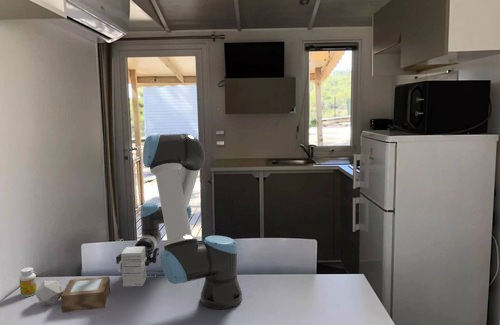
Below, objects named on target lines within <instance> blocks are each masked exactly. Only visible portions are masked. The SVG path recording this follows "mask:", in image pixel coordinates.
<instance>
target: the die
mask: <svg viewBox="0 0 500 325" xmlns="http://www.w3.org/2000/svg"><path fill="white" fill-rule="evenodd" d="M64 290H65V289H63V287H62V285H61V284H60V282H59V280H43V282H42V283H41V284H40V285H39V287H38V288H37V291H36V292H35V294H34V296H36V298H37V299H38V301H39V303H40V305H57V303H58V301H59V300H61V295H62V293H63V292H64Z"/></svg>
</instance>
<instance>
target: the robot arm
mask: <svg viewBox="0 0 500 325" xmlns="http://www.w3.org/2000/svg"><path fill="white" fill-rule="evenodd" d="M205 160H206V154H205V148H204V146H203V144H202V143H201V141H200V140H199V139H198V138H197V137H195V136H194V135H192V134H188V133H176V134H175V133H174V134H170V133H169V134H159V133H158V134H154V135H153V134H152V135H148V136H147V137H146V138H145V140H144V143H143V148H142V161H143V162H142V164H143V166H144V167H145V168H149V169H150V170H149V171H150V174H152V175H153V176H154V177H155V179H156V184H157V190H158V194H159V195H158V196H159V200H160V206H159V204H158V203H157V202H147V203H146V202H145V203H143V204H142V205H141V206H140V223H141V224H140V225H141V228H140V230H141V237H140V238H139V239H138V241H137V242H136V243H135V245H134V247H139V246H145V255H146V257H145V258H144V260H143V261H142V263H141V271H144V269H145V267H146V268H147V267H148V266H149V265H150V264H151V263H153V264H156V263H157V259H158V256H160V257H159V258H160V265H161V268H162V272H163V274H164V276H165V278H166V279H167V281H168V282H169V283H170V284H172V285H177V284H185V283H188V282H191V281H196V280H200V279H203V278H204V282H203V286H202V288H201V292H200V302H201V305H203V306H204V307H206V308H208V309H214V310H226V309H227V310H228V309H231V308H234V307H236V306H238V305H240V304H241V303H242V301H243V291H242V289H241V286H240V283H239V281H238V248H237V247H238V246H237V242H236V241H235V240H234V238H231V237H228V236H223V235H208V236H206V237H205V238H204V240H203V243H200V244H199V242H198V238H197V237H195V236H194V235H193V234H192V230H191V224H190V219H191V217H192V208H191V205H190V201H191V197H192V195H193V192H194V188H195V185H196V182H197V178H198V176H199V172H200V170H201V169H203V167H204V166H205V165H204V164H205ZM161 224H164V229H165V235H166V239H167V240H166V242H165V244H164V245H163V248H164V250H162V251H161V253H160V250H159V247H157V246H158V244H159V243H160V242H161V238H162V233H161V230H160V225H161ZM159 254H160V255H159ZM151 256H152V257H151ZM115 259H116V264H117V272H118V273H121V272H122V259H121V253H120V254H118V255H117V256H116V257H115Z"/></svg>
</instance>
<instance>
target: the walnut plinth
mask: <svg viewBox="0 0 500 325" xmlns="http://www.w3.org/2000/svg"><path fill="white" fill-rule="evenodd" d="M110 282H111V279H110V276H100V277H99V276H98V277H97V276H96V277H87V278H76V279H70V280H69V281H68V283H67V284H66V286H65V288H64V289H63V290H64V292H63V293H62V295H61V297H60V301H61V302H60V303H61V313H68V312H77V311H78V312H79V311H89V310H99V309H105V308H106V306H107V303H108V300H109V296H110V293H111V283H110Z"/></svg>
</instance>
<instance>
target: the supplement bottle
mask: <svg viewBox="0 0 500 325" xmlns="http://www.w3.org/2000/svg"><path fill="white" fill-rule="evenodd" d="M20 274H21V275H20V276H19V280H18V281H19V288H20V289H19V290H20V296H21V297H23V298H26V297H32V296H35V292H36V291H37V290H38V288H37V277H36V276H37V275H36V273H34V267H31V266H30V267H23V268H21V270H20Z"/></svg>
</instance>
